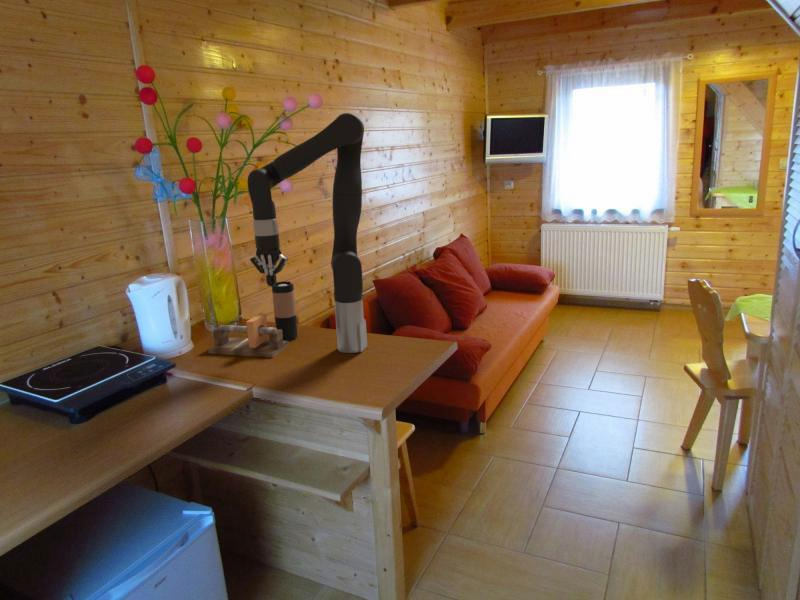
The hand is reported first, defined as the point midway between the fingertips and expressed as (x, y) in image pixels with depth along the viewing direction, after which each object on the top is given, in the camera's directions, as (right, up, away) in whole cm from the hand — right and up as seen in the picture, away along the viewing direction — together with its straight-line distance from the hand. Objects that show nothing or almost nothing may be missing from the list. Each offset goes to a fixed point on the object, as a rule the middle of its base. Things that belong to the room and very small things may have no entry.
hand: (271, 285), depth 184 cm
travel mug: (+1, -19, +19) cm, 27 cm away
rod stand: (-10, -22, +9) cm, 25 cm away
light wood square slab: (-6, -19, +7) cm, 21 cm away
